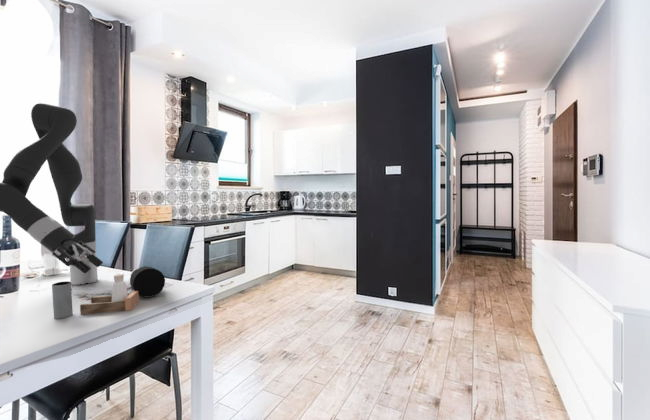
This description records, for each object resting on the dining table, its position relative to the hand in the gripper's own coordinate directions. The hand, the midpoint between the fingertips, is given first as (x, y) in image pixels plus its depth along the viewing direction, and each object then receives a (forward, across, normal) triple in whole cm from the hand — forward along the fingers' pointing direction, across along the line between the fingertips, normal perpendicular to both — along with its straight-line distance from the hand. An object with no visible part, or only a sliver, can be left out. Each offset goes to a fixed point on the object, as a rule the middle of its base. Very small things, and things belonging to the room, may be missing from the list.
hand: (94, 267), depth 104 cm
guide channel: (+13, 0, +7) cm, 14 cm away
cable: (+15, +22, +5) cm, 27 cm away
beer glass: (-19, +57, +39) cm, 72 cm away
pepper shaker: (+15, 0, +5) cm, 15 cm away
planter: (+5, -4, +15) cm, 16 cm away
